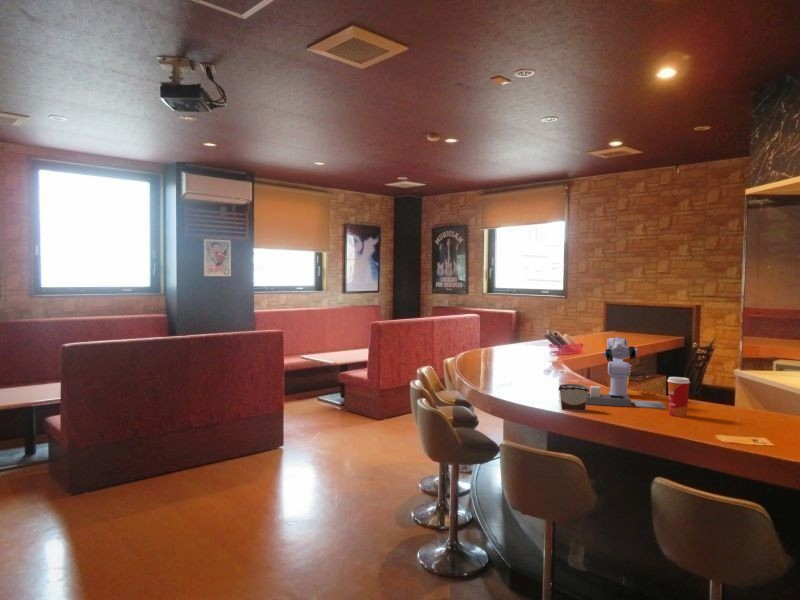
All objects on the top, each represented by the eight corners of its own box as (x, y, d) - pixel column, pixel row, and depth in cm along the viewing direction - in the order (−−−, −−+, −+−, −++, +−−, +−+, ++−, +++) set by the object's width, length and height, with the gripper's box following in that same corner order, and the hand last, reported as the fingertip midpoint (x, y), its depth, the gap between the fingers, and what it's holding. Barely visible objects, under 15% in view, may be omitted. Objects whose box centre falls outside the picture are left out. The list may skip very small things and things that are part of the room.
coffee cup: (667, 412, 222) (668, 375, 222) (690, 414, 218) (690, 377, 218) (665, 416, 215) (666, 378, 215) (689, 419, 211) (689, 380, 211)
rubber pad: (631, 401, 242) (631, 400, 242) (660, 403, 239) (660, 401, 239) (635, 407, 231) (635, 405, 231) (666, 409, 228) (666, 407, 228)
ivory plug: (590, 401, 242) (590, 385, 242) (599, 401, 241) (599, 386, 241) (590, 403, 239) (591, 387, 238) (600, 403, 238) (600, 387, 237)
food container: (588, 408, 228) (588, 384, 228) (589, 411, 223) (589, 387, 222) (557, 406, 232) (558, 383, 232) (558, 409, 226) (558, 385, 226)
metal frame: (580, 399, 246) (580, 392, 246) (627, 402, 241) (627, 395, 241) (581, 403, 237) (581, 397, 237) (630, 406, 231) (631, 399, 231)
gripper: (602, 343, 251) (602, 350, 239) (635, 339, 246) (637, 347, 233) (604, 357, 252) (604, 366, 239) (637, 354, 247) (640, 363, 234)
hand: (621, 357), depth 236 cm, fingers open, 7 cm apart
